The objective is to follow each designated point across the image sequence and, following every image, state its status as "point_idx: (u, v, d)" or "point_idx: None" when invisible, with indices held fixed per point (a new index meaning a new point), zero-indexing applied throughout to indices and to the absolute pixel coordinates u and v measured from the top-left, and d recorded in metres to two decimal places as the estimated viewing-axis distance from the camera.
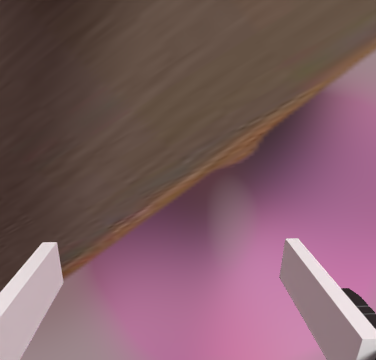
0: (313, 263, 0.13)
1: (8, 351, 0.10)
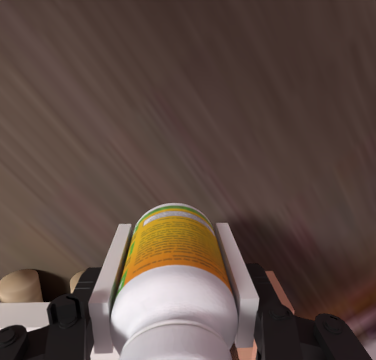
0: (230, 242, 0.15)
1: None
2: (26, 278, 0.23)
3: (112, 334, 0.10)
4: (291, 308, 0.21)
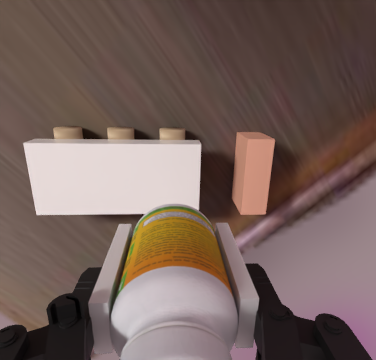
0: (230, 242, 0.15)
1: None
2: (73, 127, 0.30)
3: (112, 336, 0.10)
4: None
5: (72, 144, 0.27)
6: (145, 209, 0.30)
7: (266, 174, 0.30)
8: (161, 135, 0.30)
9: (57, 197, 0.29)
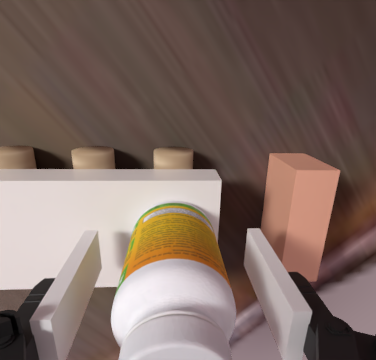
0: (267, 249, 0.14)
1: (70, 322, 0.11)
2: (19, 149, 0.19)
3: (113, 326, 0.11)
4: (336, 169, 0.18)
5: (5, 182, 0.16)
6: None
7: (322, 223, 0.19)
8: (156, 161, 0.19)
9: None
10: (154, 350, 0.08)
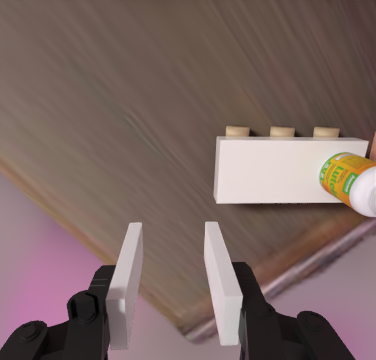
0: (218, 241, 0.15)
1: (131, 304, 0.12)
2: (242, 126, 0.34)
3: (358, 193, 0.26)
4: None
5: (260, 141, 0.31)
6: (309, 198, 0.34)
7: None
8: (319, 133, 0.34)
9: (238, 187, 0.33)
10: None
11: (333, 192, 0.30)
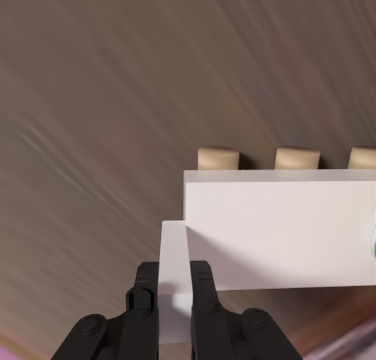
0: (181, 239, 0.15)
1: None
2: (226, 150, 0.20)
3: None
4: None
5: (264, 183, 0.16)
6: (352, 279, 0.19)
7: None
8: (363, 161, 0.19)
9: (222, 264, 0.18)
10: None
11: None
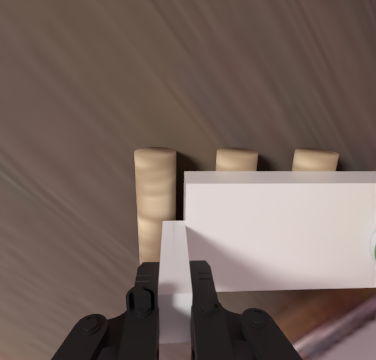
0: (181, 239, 0.15)
1: None
2: (163, 151, 0.19)
3: None
4: None
5: (265, 185, 0.16)
6: (352, 281, 0.19)
7: None
8: (303, 163, 0.19)
9: (222, 266, 0.18)
10: None
11: None
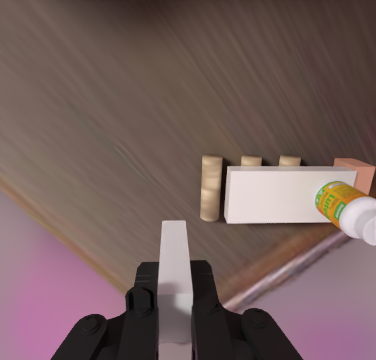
0: (182, 239, 0.15)
1: None
2: (216, 156, 0.40)
3: (346, 219, 0.31)
4: (373, 166, 0.38)
5: (265, 171, 0.36)
6: (306, 219, 0.39)
7: (366, 192, 0.39)
8: (283, 162, 0.40)
9: (245, 210, 0.38)
10: None
11: (326, 215, 0.35)
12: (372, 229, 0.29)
